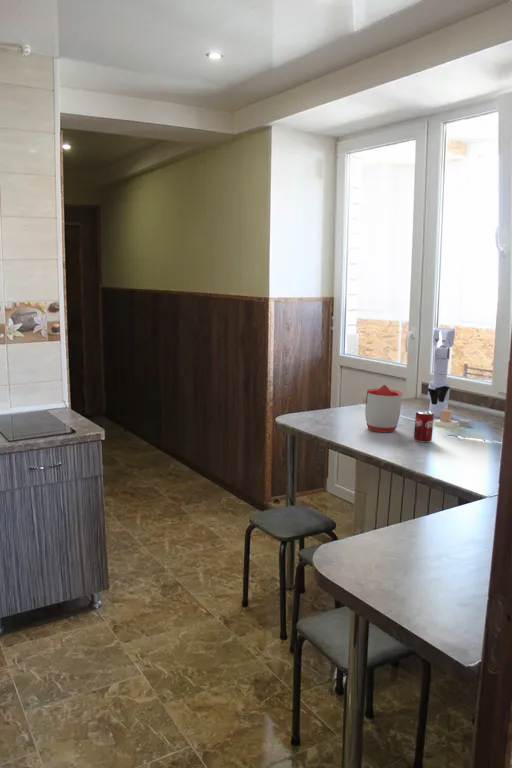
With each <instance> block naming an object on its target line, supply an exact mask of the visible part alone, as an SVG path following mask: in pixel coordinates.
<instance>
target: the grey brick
mask: <svg viewBox="0 0 512 768" xmlns="http://www.w3.org/2000/svg"><path fill="white" fill-rule="evenodd" d="M470 423H471V420H470V419H463V418H461V419H460V420H459V426H462V427H467V428H469V427H470Z"/></svg>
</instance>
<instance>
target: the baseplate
mask: <svg viewBox="0 0 512 768" xmlns="http://www.w3.org/2000/svg"><path fill="white" fill-rule="evenodd" d="M436 420H437V419H434V420H433V429H434V428H435V429H440V430H444V431H449V432H455V433H457V432H459V431H461V430H465V429H468V427H462V426H459V424H458V426H456V427H454V428H445V427H440V426H435V425H434V421H436Z"/></svg>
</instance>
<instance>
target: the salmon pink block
mask: <svg viewBox="0 0 512 768" xmlns="http://www.w3.org/2000/svg"><path fill="white" fill-rule="evenodd" d="M452 417H453V410H452V409H443V410H441V416H440V418H439V419H440V421H442V422H451V420H453V419H452Z"/></svg>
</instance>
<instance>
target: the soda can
mask: <svg viewBox="0 0 512 768" xmlns="http://www.w3.org/2000/svg"><path fill="white" fill-rule="evenodd" d="M434 418H435V417H434V414H433V413H432V412H429V410H417V411H415V418H414V430H413V440H414V441H415V440H416V441H415V442H418V441H419V442H418V443H423V442H428V443H431V442H430V441H432V440H433V439H432V438H433V429H434V427H433V421H435V419H434Z"/></svg>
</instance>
